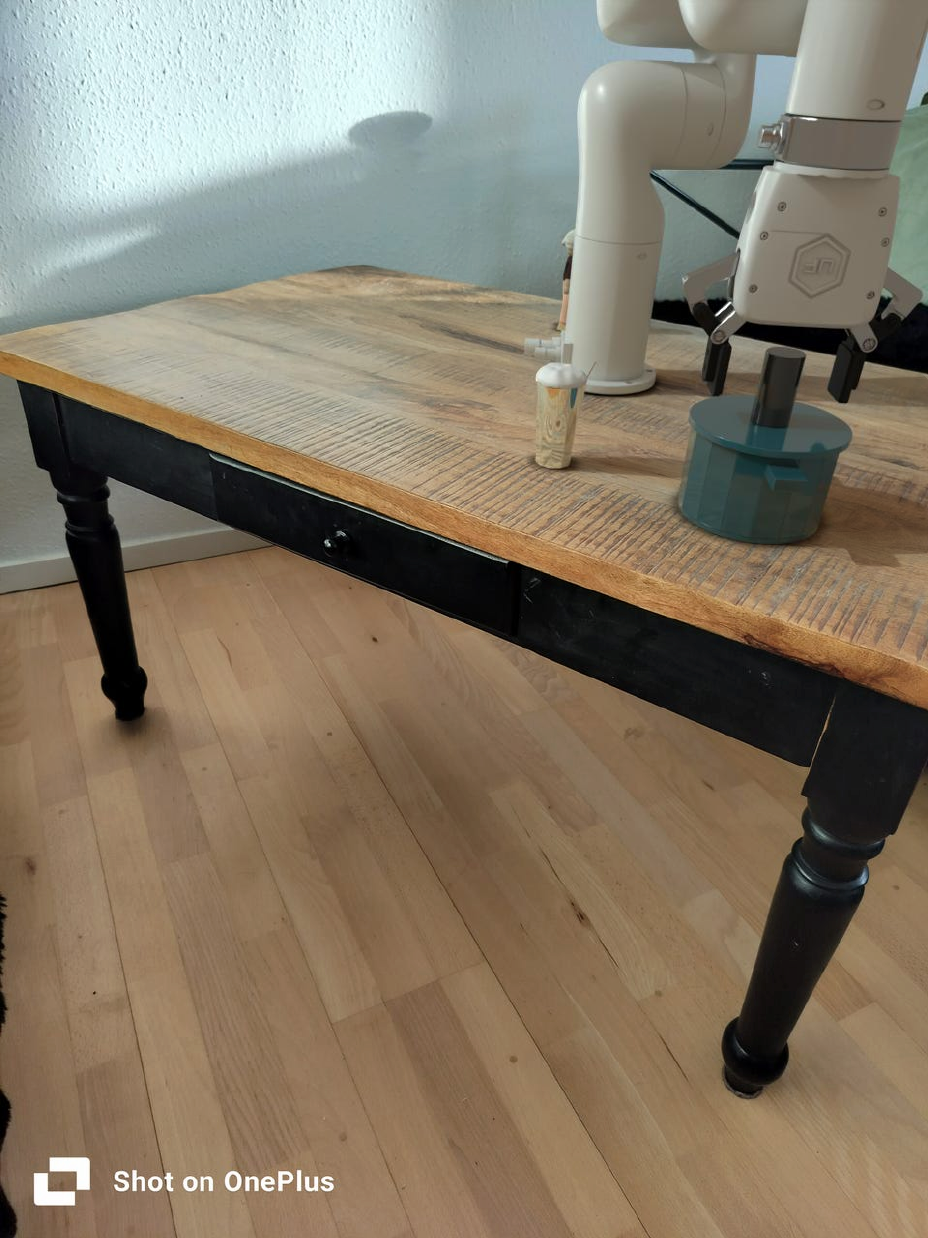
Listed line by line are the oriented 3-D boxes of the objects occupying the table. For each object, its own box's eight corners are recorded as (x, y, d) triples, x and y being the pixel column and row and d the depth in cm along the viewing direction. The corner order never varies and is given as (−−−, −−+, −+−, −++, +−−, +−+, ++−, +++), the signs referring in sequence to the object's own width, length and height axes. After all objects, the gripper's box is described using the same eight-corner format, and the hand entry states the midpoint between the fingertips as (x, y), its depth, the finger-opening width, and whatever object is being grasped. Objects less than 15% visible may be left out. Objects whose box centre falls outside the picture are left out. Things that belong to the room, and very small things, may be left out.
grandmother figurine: (584, 335, 118) (595, 234, 111) (556, 333, 118) (565, 233, 111) (578, 320, 124) (589, 224, 117) (552, 319, 124) (560, 223, 117)
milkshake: (571, 478, 78) (584, 368, 73) (519, 463, 80) (528, 356, 75) (593, 462, 81) (606, 355, 76) (542, 448, 84) (552, 344, 78)
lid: (700, 461, 65) (718, 373, 61) (676, 404, 75) (690, 325, 72) (870, 471, 64) (899, 383, 61) (822, 412, 75) (844, 333, 71)
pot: (695, 556, 67) (714, 466, 63) (665, 467, 81) (679, 389, 77) (846, 565, 67) (875, 475, 62) (790, 474, 81) (810, 396, 77)
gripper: (716, 147, 56) (671, 404, 65) (988, 160, 55) (903, 417, 65) (697, 137, 62) (658, 373, 72) (941, 149, 62) (869, 384, 71)
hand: (774, 394), depth 68 cm, fingers open, 9 cm apart
